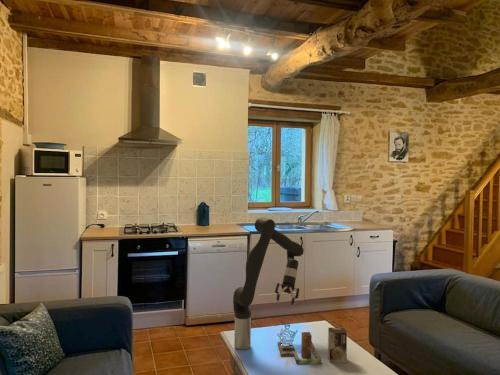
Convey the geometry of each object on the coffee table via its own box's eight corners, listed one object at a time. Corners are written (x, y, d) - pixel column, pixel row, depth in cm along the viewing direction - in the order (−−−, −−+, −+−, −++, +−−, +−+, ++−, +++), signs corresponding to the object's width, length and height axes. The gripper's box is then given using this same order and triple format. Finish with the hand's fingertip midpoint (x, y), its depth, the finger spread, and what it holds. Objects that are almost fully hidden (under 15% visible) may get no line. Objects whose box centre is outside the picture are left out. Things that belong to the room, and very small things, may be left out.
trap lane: (282, 364, 190) (283, 360, 190) (277, 343, 214) (277, 340, 214) (321, 363, 191) (321, 359, 191) (311, 343, 215) (311, 340, 215)
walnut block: (302, 359, 195) (303, 335, 195) (301, 355, 200) (301, 332, 199) (311, 359, 195) (311, 335, 195) (309, 355, 200) (309, 332, 200)
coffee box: (344, 357, 198) (345, 327, 198) (346, 363, 192) (347, 332, 192) (327, 356, 199) (328, 327, 199) (329, 362, 193) (329, 331, 193)
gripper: (280, 272, 223) (274, 299, 217) (302, 278, 223) (297, 305, 217) (277, 274, 230) (272, 300, 224) (299, 280, 230) (294, 306, 224)
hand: (284, 303), depth 221 cm, fingers open, 8 cm apart
